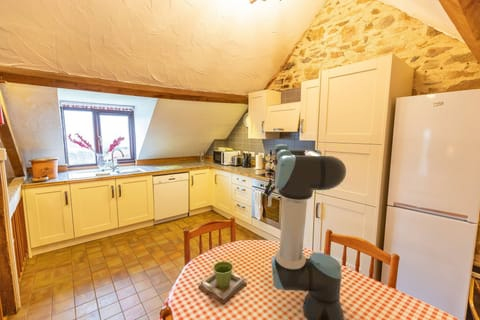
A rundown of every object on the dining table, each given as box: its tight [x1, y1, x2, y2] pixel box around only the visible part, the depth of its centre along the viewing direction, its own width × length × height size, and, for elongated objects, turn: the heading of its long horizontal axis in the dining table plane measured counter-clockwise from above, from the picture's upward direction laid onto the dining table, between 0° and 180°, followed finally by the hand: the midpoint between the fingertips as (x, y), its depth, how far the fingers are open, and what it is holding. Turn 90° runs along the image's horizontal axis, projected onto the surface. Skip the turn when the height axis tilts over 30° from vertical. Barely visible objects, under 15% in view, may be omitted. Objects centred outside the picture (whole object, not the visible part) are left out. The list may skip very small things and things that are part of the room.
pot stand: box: [198, 271, 248, 304], centre depth 105 cm, size 16×16×3 cm
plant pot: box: [212, 260, 234, 288], centre depth 105 cm, size 9×9×9 cm
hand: (279, 208), depth 129 cm, fingers open, 13 cm apart
